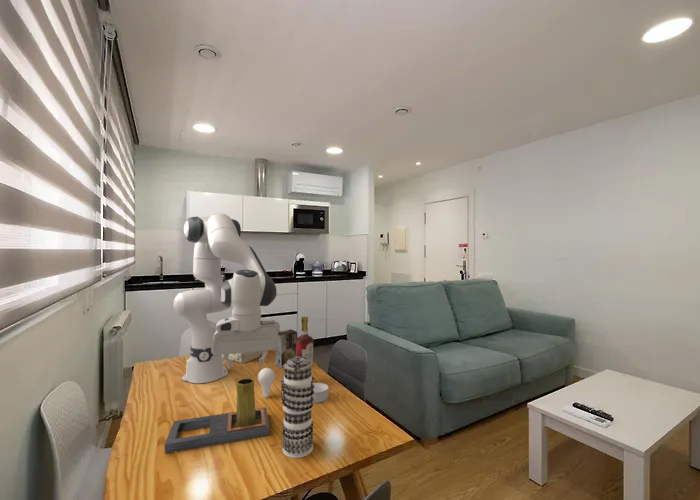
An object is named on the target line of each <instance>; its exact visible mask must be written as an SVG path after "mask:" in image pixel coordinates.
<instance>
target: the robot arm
mask: <svg viewBox="0 0 700 500" xmlns="http://www.w3.org/2000/svg"><path fill="white" fill-rule="evenodd" d="M183 234H184V237H185V239H186V240H187V241H188V242H191V243H194V247H193V248H194V249H193V258H192V259H193V262H192V263H193V264H192V275H193V277H194V278H195V279H197V280H198V281H200V282H202V283H204V287H205V288H202V289H190V290H186V291H182V292H178V293H177V294H176V296H175V297H174V299H173V302H172V304H173V305H172V306H173V309H174V312H175V313H176V314H177V315H178V316H179V317H182V318H183V319H184V320H185V321H186V322H187V324H188V325H189V329H190V336H191V346H190V350H189V352H190V353H189V354H190V356H189V358H188V359H187V360H186V367H185V368H186V369H185V371H186V372H185V374H184V375H183V376H182V377H181V381H184V382H188V383H191V384H204V383H210V382H214V381H217V380H220V379H221V378H223V377H226V376H228V375H229V371H228V369H232V368H234V367H233V363H234V361H231V360H229V358H228V357H229V354H234V353H246V352H257V351H263V355H262V356H261V357H259V358H258V360H259V361H258V365H259V366H261V365H265V359H266V358H267V356H268V355H269V351H275V350H277V349H278V347H279V338H278V333H279V332H280V331H281V329H280V328H281V324H280V323H279V322H278V321H276V320H273V319H272V320H271V319H270V320H262V310H261V307H268V306H270V305H271V304H272V303H273V301H274V300H275V299H276V297H277V294H278V293H277V286H276V283H275V282H274V280H273V279H272V278H271V277H270V275H269V274H268V273H267V271H266V269H265V267H264V265H263V264H262V262H261V260H260V259H259V257H258V254H257V253H256V251H255V250H254V248H252V247H251V246H250V245H248V244H247V243H246V242H245V241H244V240H242V238H241V235H242V227H241V224H240V222H239V221H238V220H236V219H233V218H231V217H230V216H229V215H227V214H226V213H221V212H220V213H219V212H218V213H214V214H212V215H210V216H202V217H201V216H200V217H199V216H191V217H188V218H187V219H186V220H185V223H184V224H183ZM222 260H223V261H227V262H231V263H237V264H238V265H242V266H244V267H245V268H246V269H239V270H236V271H234V273H233V276H232V278H230V279H226V280H225V281H224V280H223V278H222V273H221V267H222V266H221V263H222V262H221V261H222ZM229 309H232V311H231V316H228V317H226V318H223V319H220V320H218V321H217V322H216V323H215V322H213V321H211V320H208V318H207V314H215V313H221V312H224V311H227V310H229ZM223 354H224V358H223V357H222V355H223ZM224 360H225V362H226V363H227V367H226V366H225V363H224Z"/></svg>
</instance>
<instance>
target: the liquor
mask: <svg viewBox="0 0 700 500" xmlns="http://www.w3.org/2000/svg"><path fill="white" fill-rule="evenodd" d="M300 318H301V319H300V320H301V333H300V336H297V339H296V355H297V357H305V358H307V359H308V360H309V361H310V362H311V363H312V364H313V361H314V359H313V356H314V338H313V337H312V336H311V335H309V330H308V321H309V317H308V316H301V317H300ZM311 374H312V375H313V365H312V366H311ZM311 383H314V380H312V381H311Z"/></svg>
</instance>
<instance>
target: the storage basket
mask: <svg viewBox="0 0 700 500" xmlns="http://www.w3.org/2000/svg"><path fill="white" fill-rule="evenodd" d="M262 356H263V351H257V352H246V353H234V354H229V357H228V358H229V360H230V361H233V362H236V363H240V364H244V363H247V362H251V361H253V360H255V358H256V359H259V358H262ZM222 357H223V359H224V354H223V355H222ZM258 357H259V358H258Z"/></svg>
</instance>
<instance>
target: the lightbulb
mask: <svg viewBox="0 0 700 500" xmlns="http://www.w3.org/2000/svg"><path fill="white" fill-rule="evenodd" d="M257 380H258V382H259V384H260V387H261V391H262V396H263V397H264V398H265V399H267V398H269V397H270V395H271V388H272V384H273V382H274V380H275V372H274V370H273V369H271V368H269V367H263V368H262V369H261V370H260V371H259V373H258V374H257Z"/></svg>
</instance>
